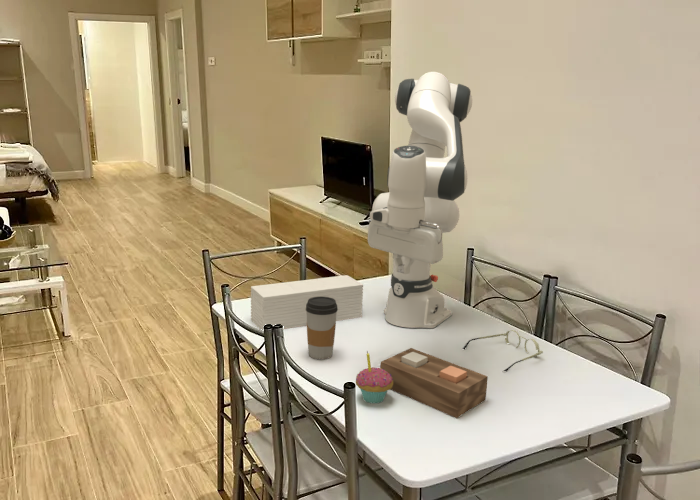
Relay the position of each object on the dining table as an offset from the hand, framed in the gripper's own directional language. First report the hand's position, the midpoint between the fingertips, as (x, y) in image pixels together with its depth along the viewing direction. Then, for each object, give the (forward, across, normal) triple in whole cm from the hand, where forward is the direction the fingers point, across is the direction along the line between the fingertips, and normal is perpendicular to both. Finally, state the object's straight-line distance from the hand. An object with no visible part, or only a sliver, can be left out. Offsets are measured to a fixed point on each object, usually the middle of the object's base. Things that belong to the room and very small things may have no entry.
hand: (403, 272), depth 156 cm
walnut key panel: (+26, -13, +4) cm, 29 cm away
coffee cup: (+26, +20, +8) cm, 34 cm away
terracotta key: (+22, -18, +4) cm, 29 cm away
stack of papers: (+28, +42, -8) cm, 51 cm away
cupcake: (+26, -5, +16) cm, 31 cm away
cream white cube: (+23, -7, +4) cm, 24 cm away
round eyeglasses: (+28, -14, -28) cm, 42 cm away
